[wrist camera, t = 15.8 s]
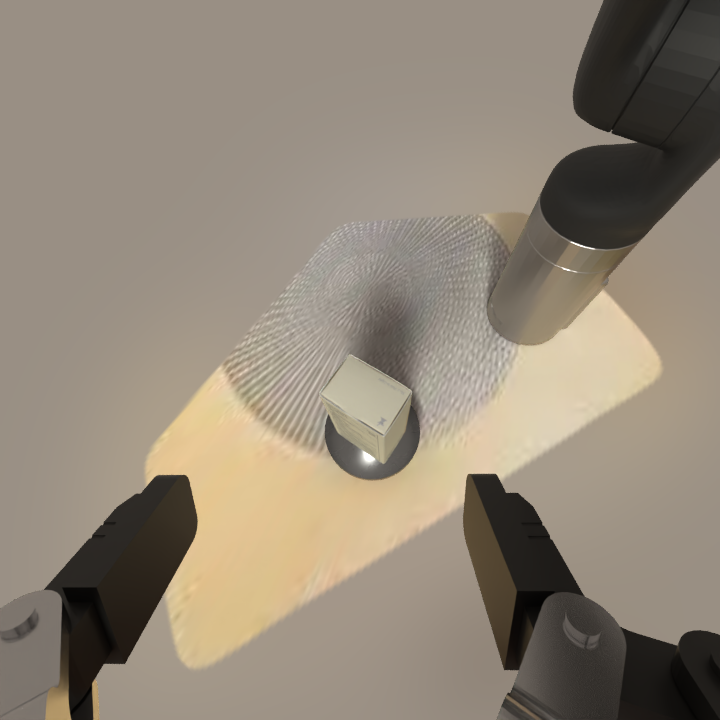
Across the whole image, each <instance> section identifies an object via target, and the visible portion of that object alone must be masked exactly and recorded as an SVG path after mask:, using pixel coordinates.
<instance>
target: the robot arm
mask: <svg viewBox="0 0 720 720" xmlns="http://www.w3.org/2000/svg"><path fill="white" fill-rule="evenodd" d="M573 103H574V109H575V112H576V114H577V115H578V116H579V117H580V118H581V119H583V120H584V121H586V122H587V123H589V124H590V125H592V126H594V127H596V128H598V129H601V130H603V131H606V132H610V131H611V129H612V130H613V131H612V134H615V135H618V136H621V137H624V138H627V139H630V140H633V141H636V142H637V143H630V144H615V145H598V146H591V147H587V148H583V149H580V150H578V151H575V152H573V153H571V154H569V155H568V156H566V157H565V158H564V159H562V160H561V161H560V162H559V163H558V164H557V165H556V166H555V168H554V169H553V171H552V172H551V174H550V176H549V178H548V180H547V182H546V184H545V186H544V188H543V190H542V192H541V194H540V196H539V198H538V201H537V203H536V204H535V207H534V209H533V211H532V213H531V215H530V217H529V219H528V221H527V223H526V225H525V227H524V229H523V231H522V233H521V236H520V238H519V240H518V242H517V244H516V246H515V248H514V250H513V252H512V254H511V256H510V258H509V260H508V262H507V264H506V266H505V268H504V270H503V273H502V275H501V277H500V279H499V281H498V283H497V285H496V287H495V289H494V291H493V293H492V295H491V297H490V299H489V302H488V305H487V314H488V318H489V321H490V323H491V325H492V326H493V327H494V329H495V330H496V331H497V332H498V333H499V334H500V335H501V336H503V337H504V338H506V339H508V340H509V341H512V342H515V343H517V344H522V345H537V344H542V343H544V342H546V341H548V340H550V339H551V338H553V337H554V336H555V335H556V334H557V332H558V331H559V330H561V329H564V328H567V327H568V326H569V325H570V324H571V323H572V322H573V321H574V320H575V319H576V317H577V316H578V315H579V314H580V313H581V312H582V311H583V310H584V309H585V308H586V307H587V306H588V305H589V303H590V302H591V301H592V300H593V299H594V298H595V297H596V296H597V295H598V294H599V293H600V292H601V291H602V289H603V288H604V287H605V286H606V285H607V284H608V276H609V275H610V274H611V273H612V272H613V271H614V270H615V269H616V267H617V266H618V265H619V264H620V263H621V262H622V261H623V260H624V258H625V257H626V256H627V255H628V254H629V253H630V252H631V251H632V249H633V248H634V247H635V246H636V245H637V244H638V243H639V242H640V241H641V240H642V238H643V237H644V236H645V235H646V234H647V233H648V232H649V231H650V230H651V229H652V227H653V226H654V225H655V224H656V223H657V222H658V221H659V220H660V219H661V218H662V217H663V216H664V215H665V214H666V213H667V212H668V211H669V210H670V209H671V208H672V207H673V206H674V204H676V202H677V201H678V200H679V199H680V198H681V197H682V196H683V195H684V194H685V193H686V192H687V190H689V189H690V187H692V186H693V184H694V183H695V182H696V181H697V180H698V179H699V178H700V177H701V176H702V175H703V174H704V173H705V172H706V171H707V170H708V169H709V168H710V167H711V166H712V165H713V164H714V163H715V162H716V161H717V160H718V159H719V158H720V0H604V1H603V4H602V6H601V8H600V11H599V13H598V16H597V18H596V21H595V23H594V26H593V28H592V31H591V34H590V36H589V39H588V42H587V44H586V47H585V50H584V52H583V55H582V58H581V61H580V64H579V67H578V71H577V74H576V79H575V84H574V89H573ZM197 522H198V520H197V514H196V509H195V505H194V500H193V496H192V491H191V487H190V482H189V479H188V477H187V476H186V475H158V476H156V477H155V478H154V479H153V480H152V481H151V482H150V483H149V484H148V486H147V487H146V488H145V489H144V490H143V492H142V493H141V494H135V495H134V496H132V497H131V498H129V499H128V500H127V501H125V502H124V503H122V504H121V505H119V506H118V507H117V508H116V509H115V510H114V511H113V512H112V513H111V515H110V516H109V517H108V518H107V519H106V520H105V521H104V524H103V525H101V526H100V527H99V528H98V529H97V530H96V532H95V533H94V534H93V535H92V538H91V539H89V540H88V541H87V542H86V543H85V544H84V545H83V546H82V547H81V548H80V550H79V551H78V552H77V553H76V554H75V555H74V556H73V557H72V559H71V560H70V561H69V562H68V563H67V564H66V566H65V567H64V568H63V569H62V570H61V571H60V572H59V573H58V574H57V576H56V577H55V578H54V579H53V580H52V581H51V582H50V583H49V585H48V586H47V587H46V588H45V589H44V590H41V591H36V592H32V593H29V594H26V595H24V596H21V597H19V598H17V599H15V600H13V601H11V602H10V603H8V604H7V605H5V606H3V607H2V608H0V720H99V704H98V703H99V701H98V687H97V682H96V679H95V678H96V676H97V674H98V673H99V671H100V669H101V668H102V666H103V664H125V663H126V661H127V659H128V657H129V655H130V654H131V652H132V650H133V648H134V646H135V645H136V643H137V641H138V639H139V637H140V636H141V634H142V632H143V630H144V628H145V627H146V625H147V623H148V621H149V619H150V618H151V616H152V614H153V612H154V610H155V609H156V607H157V605H158V603H159V601H160V600H161V598H162V596H163V594H164V592H165V591H166V589H167V587H168V585H169V583H170V582H171V580H172V578H173V576H174V574H175V573H176V571H177V569H178V567H179V565H180V564H181V562H182V560H183V558H184V556H185V555H186V553H187V551H188V549H189V547H190V546H191V544H192V542H193V540H194V538H195V535H196V531H197ZM463 527H464V535H465V540H466V544H467V547H468V550H469V553H470V557H471V560H472V563H473V567H474V570H475V574H476V577H477V580H478V583H479V587H480V591H481V594H482V597H483V601H484V604H485V607H486V611H487V614H488V617H489V621H490V624H491V627H492V630H493V634H494V637H495V641H496V644H497V648H498V651H499V654H500V658H501V661H502V664H503V668H504V670H519V672H518V674H517V678H516V680H515V683H514V686H513V688H512V690H511V693H508V694H507V695H506V697H505V699H504V702H503V704H502V706H501V709H500V712H499V714H498V717H497V720H720V635H718V634H715V633H711V632H708V631H701V630H699V631H690V632H687V633H685V634H684V635H683V636H682V637H681V639H680V641H679V643H678V646H676V645H673V644H669V643H666V642H663V641H660V640H656V639H653V638H650V637H646V636H643V635H640V634H637V633H634V632H631V631H628V630H626V629H624V628H622V627H620V626H619V625H618V623H617V622H616V621H615V619H614V618H613V617H612V616H611V615H610V614H609V613H608V612H607V611H606V610H605V609H604V608H602V607H601V606H600V605H598V604H597V603H595V602H594V601H592V600H590V599H588V598H586V597H585V596H584V595H583V593H582V592H581V590H580V588H579V586H578V585H577V583H576V581H575V579H574V578H573V576H572V574H571V572H570V570H569V569H568V567H567V565H566V563H565V562H564V560H563V558H562V556H561V555H560V553H559V551H558V549H557V548H556V546H555V544H554V542H553V541H552V540H551V539H550V535H549V534H548V532H547V530H546V528H545V527H544V526H543V525H542V521H541V520H540V518H539V516H538V514H537V513H536V511H535V509H534V507H533V506H532V505H531V504H530V503H528V502H527V501H526V500H525V499H524V498H523V497H521V495H519V494H518V493H506V492H505V490H504V488H503V486H502V484H501V482H500V480H499V478H498V476H497V475H496V474H468V476H467V480H466V491H465V502H464V514H463Z"/></svg>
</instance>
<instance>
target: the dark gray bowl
mask: <svg viewBox="0 0 720 720" xmlns="http://www.w3.org/2000/svg"><path fill="white" fill-rule="evenodd" d="M419 438H420V427H419V421H418V418H417V415H416V413H415V411H414V409H413V408H412V406H411V405H410V410H409V415H408V420H407V425H406V431H405V433H404V435H403V436H402V438H401V440H400V441H399V443H398V444H397V446H396V448H395V449H394V451H393V452H392V454H391V455H390V457H389V458H388V460H387V461H386V463H385V464H382V463H381V462H379V461H378V460H376V459H375V458H373V457H372V456H370V455H369V454H367V453H366V452H364V451H363V450H361V449H360V448H358V447H357V446H356V445H354V444H353V443H351V442H350V441H348V440H347V439H346V438H344V437H343V436H341V435H340V434H339V433H338V432H337V430H336V428H335V426H334V424H333V422H332V420H331V418H330V416H329V414H328V417H327V420H326V425H325V439H326V444H327V447H328V450H329V452H330V454H331V456H332V458H333V459H334V461H335V462H336V463H337V465H338V466H339V467H340V468H341V469H343V470H344V471H345V472H347V473H348V474H350V475H352V476H354V477H356V478H359V479H363V480H382V479H386V478H389V477H391V476H394V475H395V474H397V473H399V472H400V471H401V470H403V469H404V468H405V467H406V466H407V465H408V464H409V462H410V461H411V459H412V458H413V456H414V454H415V452H416V450H417V447H418V443H419Z"/></svg>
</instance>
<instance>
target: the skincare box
mask: <svg viewBox="0 0 720 720" xmlns="http://www.w3.org/2000/svg"><path fill="white" fill-rule="evenodd" d="M319 395H320V398H321V399H322V402H323V404H324V406H325V408H326V410H327V412H328V414H329V416H330V418H331V420H332V422H333V424H334V426H335V428H336V430H337V432H338V433H339V434H340V435H341V436H343V437H344V438H346V439H347V440H348V441H350V442H351V443H353V444H354V445H356V446H357V447H358V448H360V449H361V450H363V451H364V452H366V453H367V454H369V455H370V456H372V457H373V458H375V459H376V460H378V461H379V462H381V463H382V464H385V463H386V461H387V460H388V458H389V457H390V455H391V454H392V452H393V451H394V449H395V448H396V446H397V444H398V443H399V441H400V440H401V438H402V436H403V435H404V433H405V431H406V425H407V420H408V415H409V410H410V404H411V399H412V390H410V389H409V388H407V387H406V386H404V385H403V384H401V383H400V382H398V381H396V380H395V379H393V378H391V377H390V376H388V375H386V374H385V373H383V372H381V371H379V370H378V369H376V368H374V367H373V366H371V365H369V364H367V363H366V362H364V361H362V360H360V359H359V358H357V357H355V356H353V355H351V354H349V355H348V356H347V357H346V358H345V360H344V361H343V362H342V363H341V365H340V366H339V367H338V368H337V370H336V371H335V372H334V374H333V375H332V376H331V377H330V379H329V380H328V381H327V383H326V384H325V385H324V387H323V388H322V389H321V391H320V392H319Z"/></svg>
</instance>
